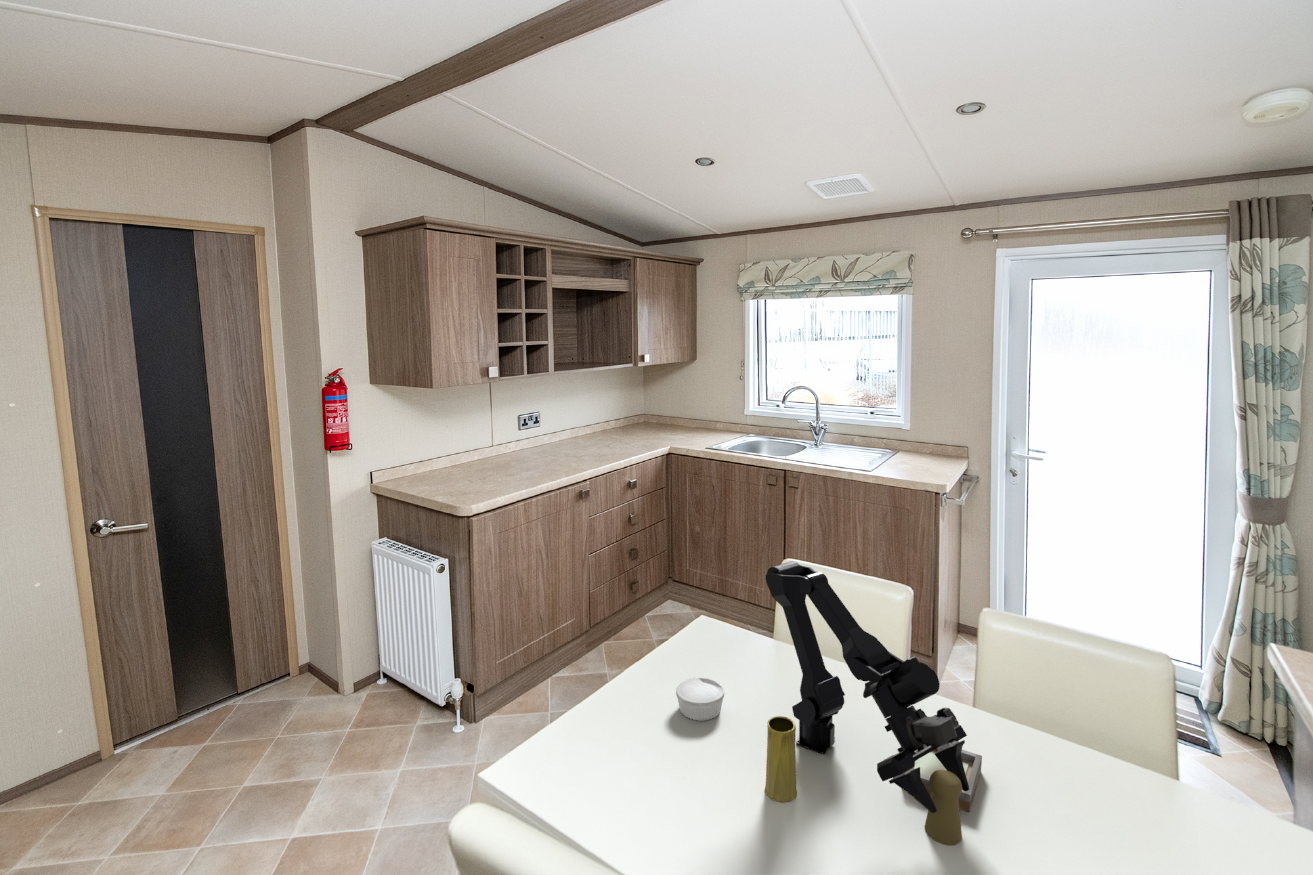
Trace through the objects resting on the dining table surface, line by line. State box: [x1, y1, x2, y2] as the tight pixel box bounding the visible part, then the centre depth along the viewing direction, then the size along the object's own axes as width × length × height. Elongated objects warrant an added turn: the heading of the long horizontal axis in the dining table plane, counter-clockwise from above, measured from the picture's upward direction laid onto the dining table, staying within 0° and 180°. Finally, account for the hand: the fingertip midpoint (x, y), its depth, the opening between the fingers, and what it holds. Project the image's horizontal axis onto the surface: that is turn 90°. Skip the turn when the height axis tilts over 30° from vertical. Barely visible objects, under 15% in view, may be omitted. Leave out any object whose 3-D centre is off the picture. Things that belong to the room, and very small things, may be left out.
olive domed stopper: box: [924, 770, 963, 846], centre depth 113 cm, size 6×6×11 cm
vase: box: [764, 715, 798, 803], centre depth 124 cm, size 6×6×14 cm
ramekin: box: [675, 677, 725, 722], centre depth 152 cm, size 11×11×5 cm
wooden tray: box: [914, 744, 983, 813], centre depth 126 cm, size 12×13×4 cm
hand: (951, 801), depth 112 cm, fingers open, 9 cm apart
